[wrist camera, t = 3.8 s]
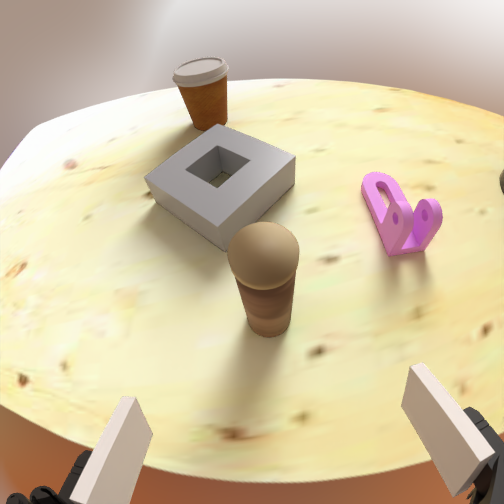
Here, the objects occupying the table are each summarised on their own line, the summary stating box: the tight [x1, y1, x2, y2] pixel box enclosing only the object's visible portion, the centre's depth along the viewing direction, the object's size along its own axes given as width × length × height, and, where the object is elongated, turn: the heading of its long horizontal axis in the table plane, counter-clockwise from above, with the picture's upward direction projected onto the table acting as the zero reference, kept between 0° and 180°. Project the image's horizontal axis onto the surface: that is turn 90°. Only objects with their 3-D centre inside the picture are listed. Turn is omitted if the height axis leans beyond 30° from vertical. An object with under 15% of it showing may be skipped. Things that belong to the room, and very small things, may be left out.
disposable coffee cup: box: [173, 57, 229, 131], centre depth 45 cm, size 10×10×12 cm
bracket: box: [361, 172, 443, 256], centre depth 33 cm, size 13×6×7 cm, turn 6°
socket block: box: [144, 124, 296, 252], centre depth 37 cm, size 14×14×5 cm
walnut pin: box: [227, 222, 299, 337], centre depth 24 cm, size 5×5×13 cm
